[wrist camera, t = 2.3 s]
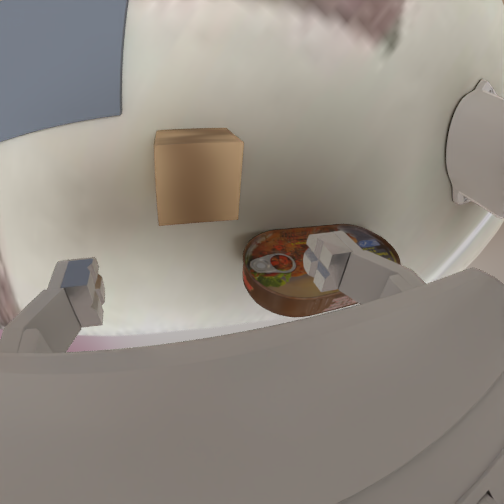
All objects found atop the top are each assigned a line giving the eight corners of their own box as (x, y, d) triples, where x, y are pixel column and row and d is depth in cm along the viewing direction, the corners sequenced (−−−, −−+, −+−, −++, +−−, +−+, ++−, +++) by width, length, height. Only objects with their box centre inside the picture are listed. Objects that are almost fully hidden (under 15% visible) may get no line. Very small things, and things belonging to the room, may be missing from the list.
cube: (226, 127, 19) (243, 142, 15) (222, 189, 22) (238, 219, 18) (156, 130, 17) (154, 145, 14) (159, 194, 20) (158, 226, 16)
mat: (134, -36, 9) (133, -39, 8) (121, 113, 16) (119, 115, 15) (-8, 9, 6) (-12, 7, 5) (-12, 144, 12) (-17, 147, 12)
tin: (368, 221, 28) (419, 268, 22) (361, 245, 30) (406, 294, 24) (231, 232, 24) (262, 300, 18) (230, 261, 26) (258, 331, 19)
